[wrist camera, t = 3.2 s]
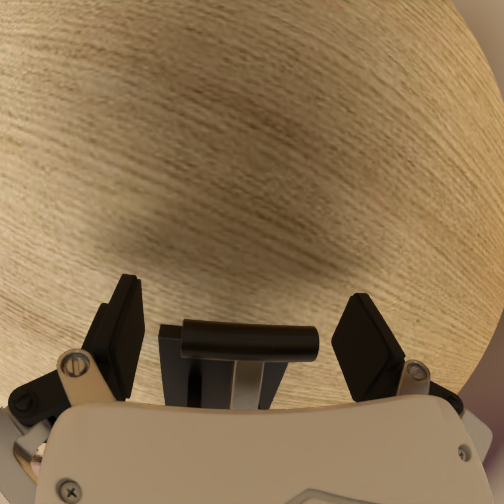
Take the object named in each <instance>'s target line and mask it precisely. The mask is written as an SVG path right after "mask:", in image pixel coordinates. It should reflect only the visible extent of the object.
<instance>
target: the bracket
mask: <svg viewBox="0 0 504 504" xmlns="http://www.w3.org/2000/svg"><path fill="white" fill-rule="evenodd" d="M181 336H182V327H178V326H169V325H160V330H159V335H158V342H159V354H160V364H161V374H162V382H163V391H164V398H165V406H176V407H189V408H204V409H227V408H228V397H229V386H230V376H231V365H232V361H222V360H207V359H194V358H183V357H181ZM288 363H289V362H264V369H263V376H262V383H261V390H260V397H259V404H258V410H269V408H270V405H271V403H272V401H273V398H274V396H275V394H276V391H277V389H278V387H279V384H280V382H281V380H282V377H283V375H284V372H285V370H286V367H287V365H288Z"/></svg>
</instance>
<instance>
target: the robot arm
mask: <svg viewBox="0 0 504 504" xmlns="http://www.w3.org/2000/svg"><path fill="white" fill-rule="evenodd" d="M144 334H145V323H144V313H143V301H142V288H141V280H140V279H137V277H136V275H129V274H122V276H121V278H120V280H119V282H118V284H117V286H116V289H115V291H114V293H113V295H112V297H111V300H110V302H109V304H107V303H102V304H101V305H100V307H99V309H98V311H97V313H96V315H95V318H94V320H93V322H92V324H91V326H90V329H89V331H88V333H87V336H86V338H85V340H84V343H83V345H82V348H81V349H71V350H68V351H66V352H64V353H63V354H62V355H61V356H60V357H59V359H58V360H57V365H56V366H57V370H55V371H52V372H50V373H48V374H46V375H44V376H42V377H40V378H37V379H35V380H33V381H31V382H29V383H27V384H24V385H22V386H20V387H18V388H16V389H15V390H14V391H13V392H12V393H11V394H10V397H9V399H8V406H7V407H6V408H3V407H1V408H0V491H1V493H2V494H3V495H4V497H6V499H7V500H8V501H9V503H10V504H68V503H69V504H495V503H494V499H493V496H492V493H491V489H490V486H489V483H488V480H487V477H486V474H485V471H484V469H483V466H482V463H483V461H484V459H485V456H486V454H487V452H488V449H489V447H490V444H491V442H492V438H493V437H492V432H491V430H490V429H489V428H488V426H486V425H485V424H484V423H483V422H482V421H480V420H479V419H478V418H477V417H476V416H474V415H473V414H472V413H471V412H470V411H469V410H467V409H465V410H463V403H462V401H461V399H460V398H459V396H458V395H456V394H455V393H453V392H451V391H449V390H447V389H445V388H443V387H441V386H440V385H438V384H436V383H434V382H432V381H430V372H429V369H428V368H427V367H426V366H425V365H424V364H423V363H422V362H420V361H417V360H408V361H406V362H405V360H404V358H405V356H406V355H405V354H404V352H403V350H402V348H401V347H400V345H399V343H398V342H397V340H396V338H395V337H394V335H393V333H392V332H391V330H390V328H389V327H388V325H387V323H386V322H385V320H384V319H383V317H382V315H381V314H380V312H379V311H378V309H377V307H376V306H375V304H374V303H373V301H372V300H371V298H370V297H369V295H368V294H367V293H355V294H354V295H353V296H351V297H350V298H349V301H348V303H347V305H346V308H345V310H344V312H343V315H342V317H341V319H340V321H339V323H338V326H337V328H336V330H335V332H334V334H333V336H332V340H331V343H332V347H333V349H334V352H335V354H336V357H337V360H338V362H339V365H340V367H341V370H342V372H343V375H344V378H345V380H346V383H347V386H348V388H349V391H350V394H351V396H352V399H353V400H354V401H356V403H348V404H340V405H331V406H321V407H309V408H294V409H270V410H228V409H204V408H189V407H176V406H165V405H156V404H147V403H136V402H126V401H125V400H126V398H128V399H129V398H130V396H131V392H132V387H133V382H134V377H135V373H136V368H137V364H138V359H139V355H140V351H141V346H142V342H143V338H144ZM42 443H46V446H45V449H44V453H43V457H42V462H41V466H40V471H39V476H38V477H37V476H36V475H35V473H34V472H33V470H32V467H31V459H32V457H33V456H34V454H35V453H36V452H37V451H38V447H39V446H40V445H41V444H42ZM77 483H78V484H79V485H78V484H77Z"/></svg>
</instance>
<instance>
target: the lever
mask: <svg viewBox="0 0 504 504" xmlns="http://www.w3.org/2000/svg"><path fill="white" fill-rule="evenodd" d="M318 351H319V335H318V331H317V329H316V328H315V327H314V326H287V325H262V324H243V323H228V322H214V321H202V320H191V319H184V320H183V325H182V336H181V357H183V358H194V359H207V360H222V361H232V365H231V376H230V386H229V397H228V408H227V409H228V410H258V404H259V397H260V390H261V383H262V376H263V369H264V362H313V361H314V360H315V359H316V357H317V355H318Z"/></svg>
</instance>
